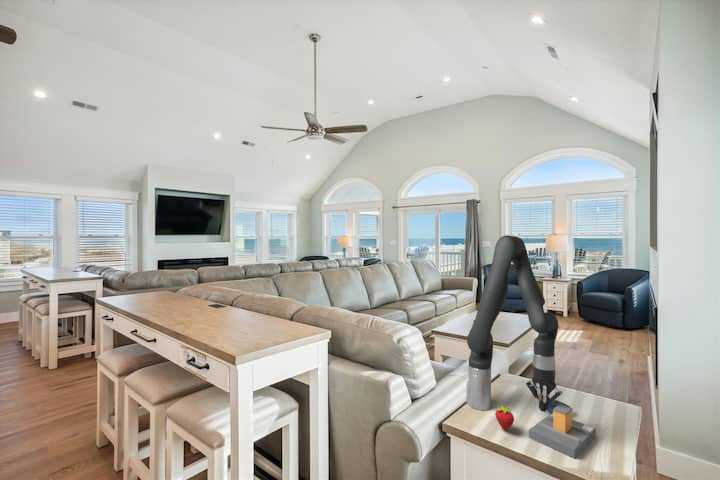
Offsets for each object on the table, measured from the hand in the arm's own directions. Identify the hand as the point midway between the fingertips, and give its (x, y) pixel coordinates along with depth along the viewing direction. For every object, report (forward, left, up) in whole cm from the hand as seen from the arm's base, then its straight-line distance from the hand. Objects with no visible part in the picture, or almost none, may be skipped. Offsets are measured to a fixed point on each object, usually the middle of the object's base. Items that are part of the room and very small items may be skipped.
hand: (543, 410), depth 134 cm
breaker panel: (+7, 0, -7) cm, 10 cm away
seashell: (-2, +17, -7) cm, 19 cm away
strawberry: (-9, -13, -7) cm, 17 cm away
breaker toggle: (+7, 0, -4) cm, 8 cm away
